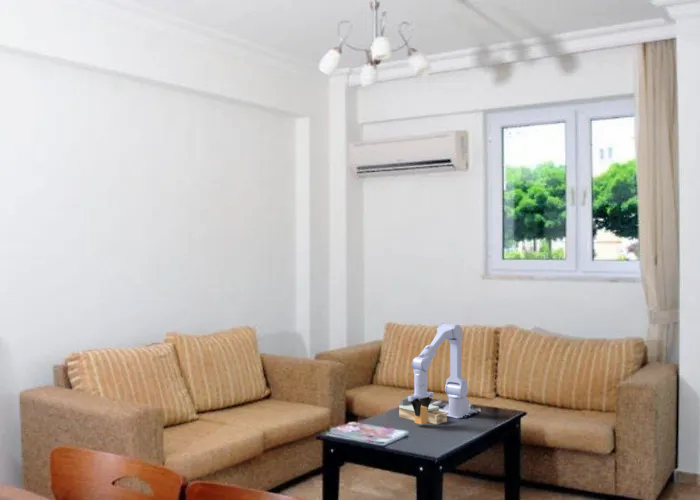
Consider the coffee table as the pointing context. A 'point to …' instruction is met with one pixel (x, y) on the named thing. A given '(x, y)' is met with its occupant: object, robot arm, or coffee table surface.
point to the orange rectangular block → (422, 416)
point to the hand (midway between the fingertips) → (420, 415)
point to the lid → (407, 405)
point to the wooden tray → (432, 416)
